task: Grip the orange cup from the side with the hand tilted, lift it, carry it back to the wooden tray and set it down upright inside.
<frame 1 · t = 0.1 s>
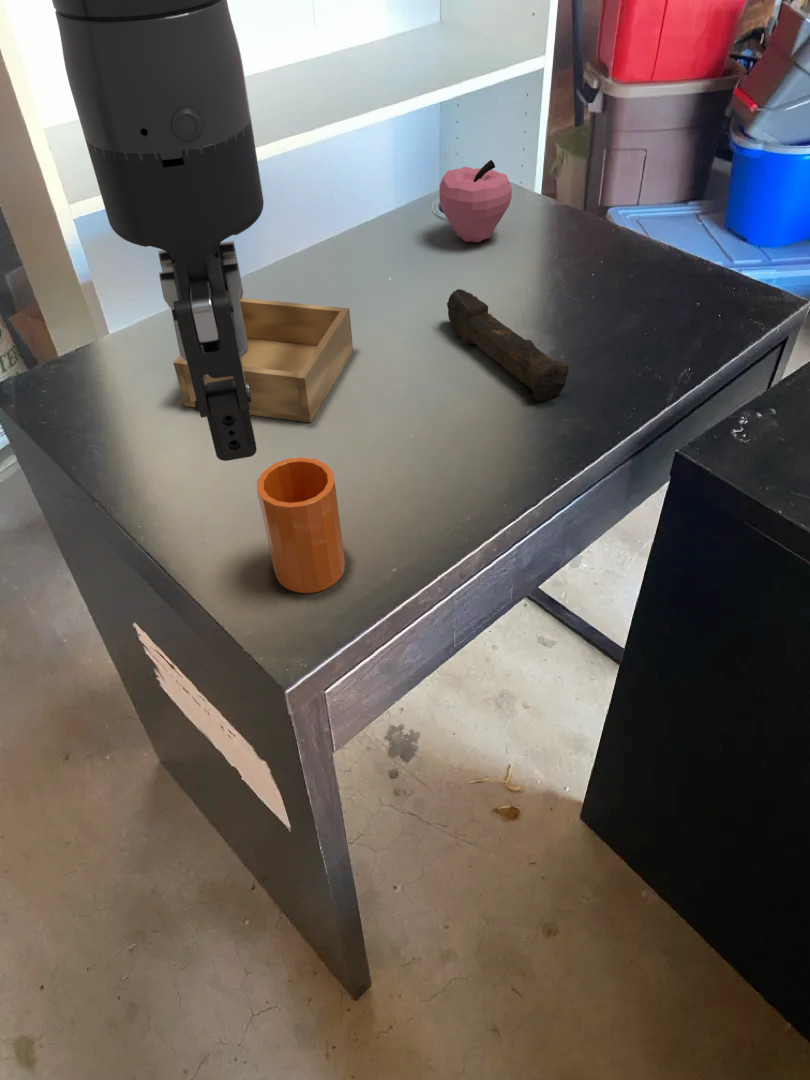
hand: (231, 412, 49), 19 cm above the table, tool pointing down, fingers open, 8 cm apart
wooden tray: (272, 377, 87), on the table
dark brown long bar: (493, 361, 88), on the table
orange cup: (310, 567, 66), on the table
apple: (474, 240, 109), on the table
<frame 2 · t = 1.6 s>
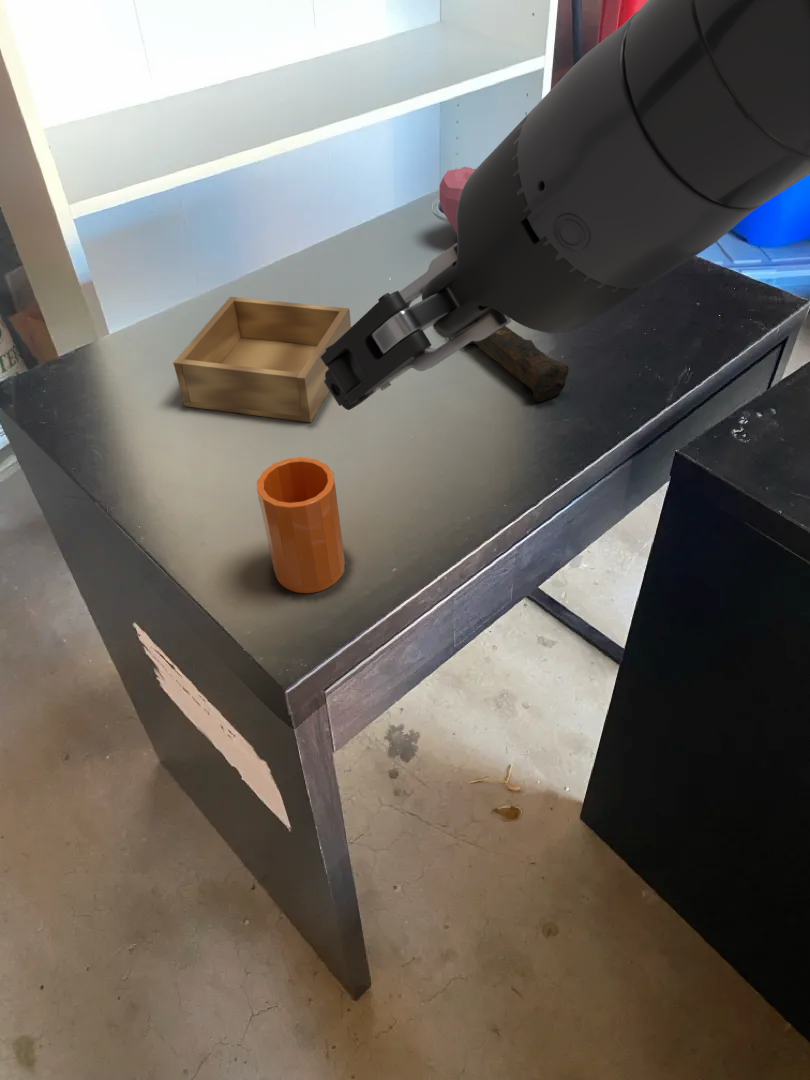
hand: (399, 356, 44), 24 cm above the table, tool tilted 45°, fingers open, 8 cm apart
nothing on the table moved.
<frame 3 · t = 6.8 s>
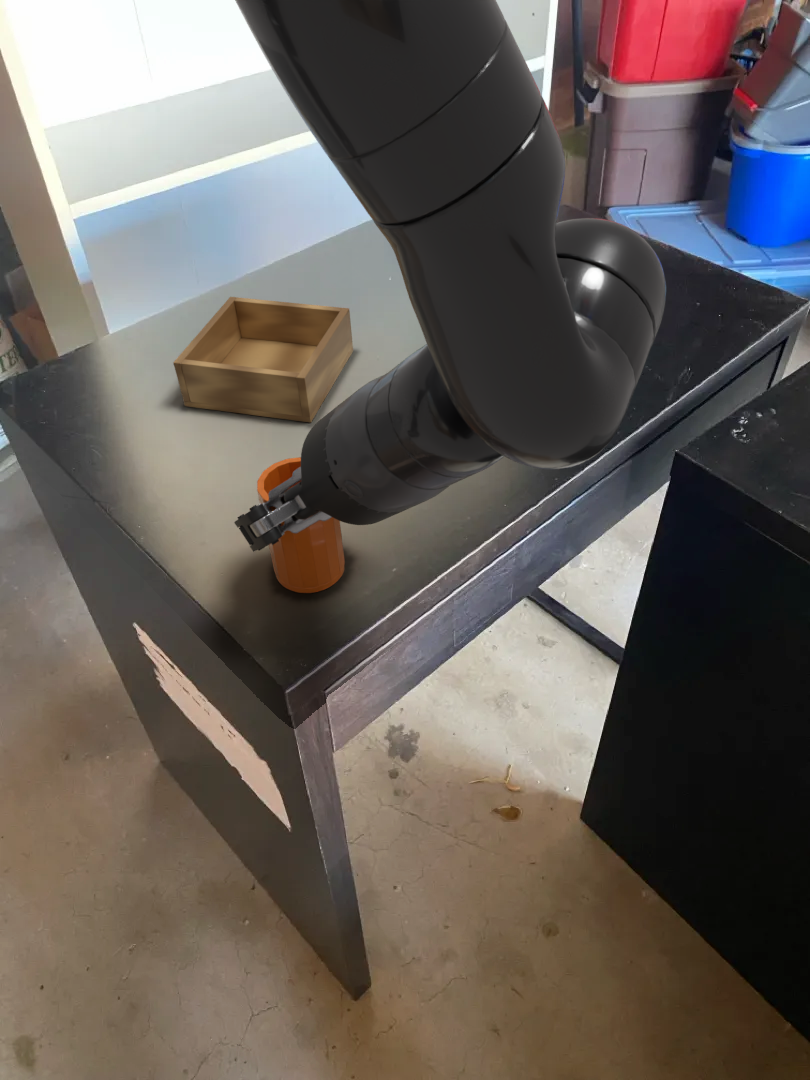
hand: (287, 509, 63), 5 cm above the table, tool tilted 45°, fingers closed on orange cup, 5 cm apart
orange cup: (310, 567, 66), on the table, touching gripper
everything else where it was.
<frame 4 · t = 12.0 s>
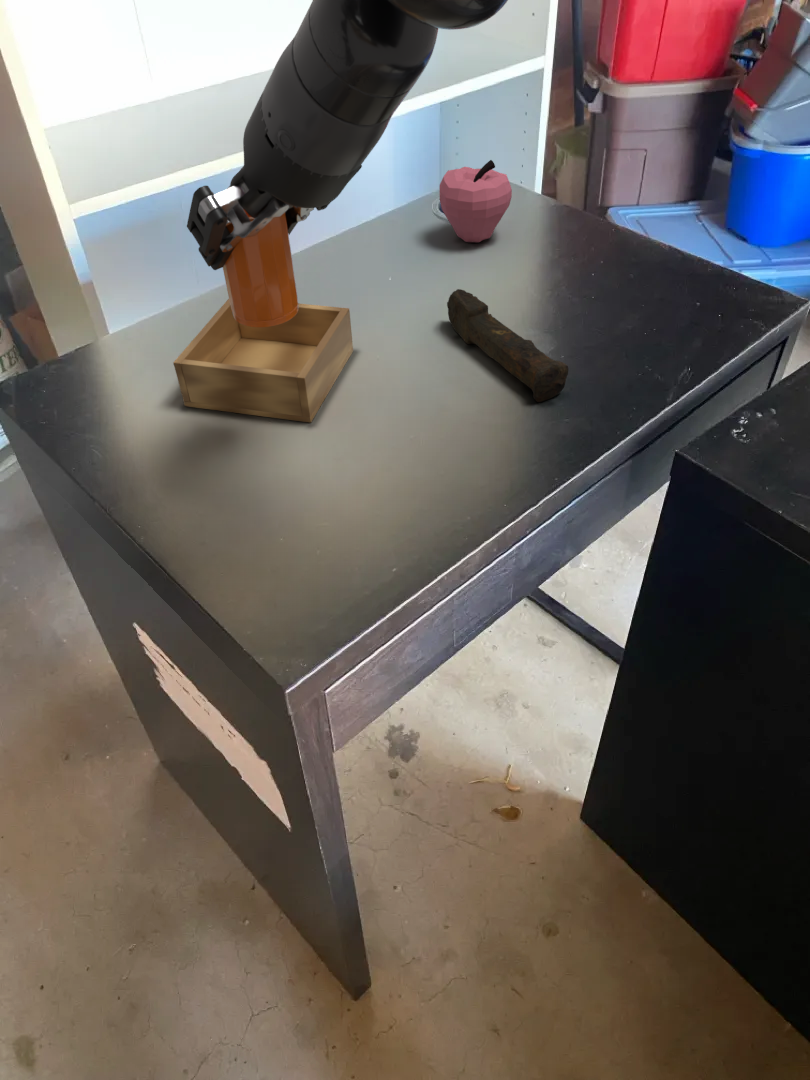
hand: (242, 245, 68), 18 cm above the table, tool tilted 45°, fingers closed on orange cup, 5 cm apart
orange cup: (265, 311, 70), point 13 cm above the table, touching gripper
everything else where it was.
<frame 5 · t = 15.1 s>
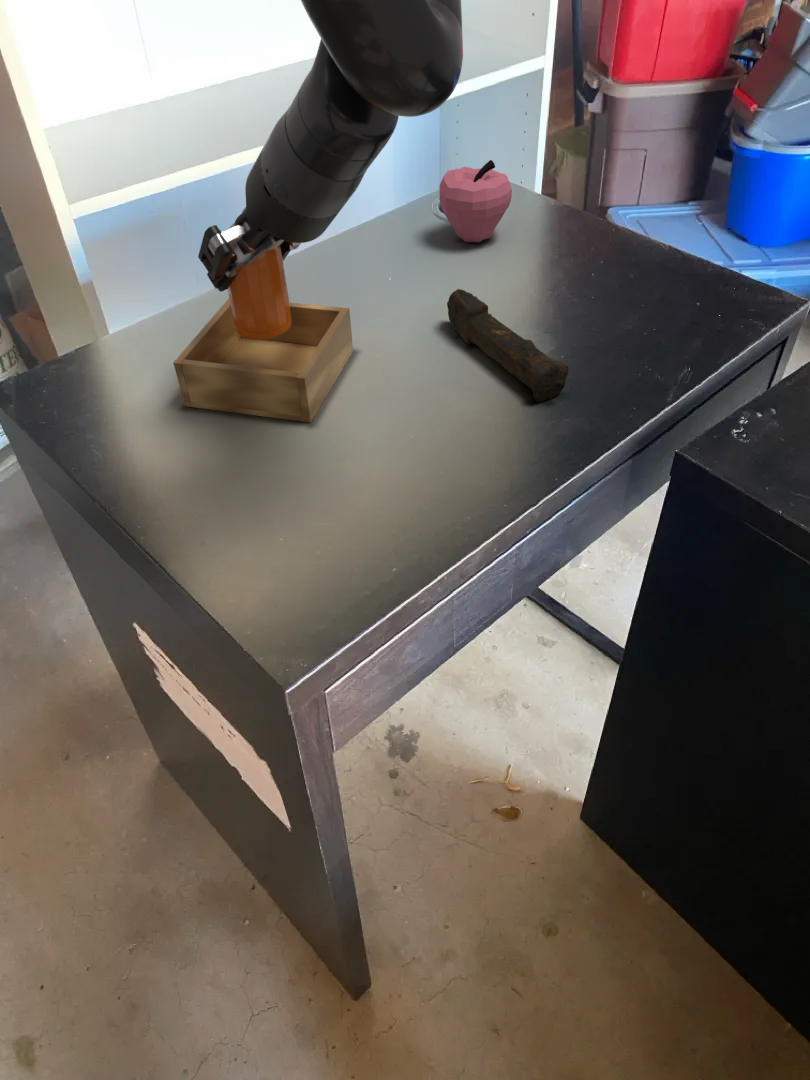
hand: (243, 270, 80), 11 cm above the table, tool tilted 45°, fingers closed on orange cup, 5 cm apart
orange cup: (264, 325, 82), point 6 cm above the table, touching gripper
everything else where it was.
when the fingers open (6 cm above the table, at t = 17.3 s): orange cup stays where it is, resting on wooden tray.
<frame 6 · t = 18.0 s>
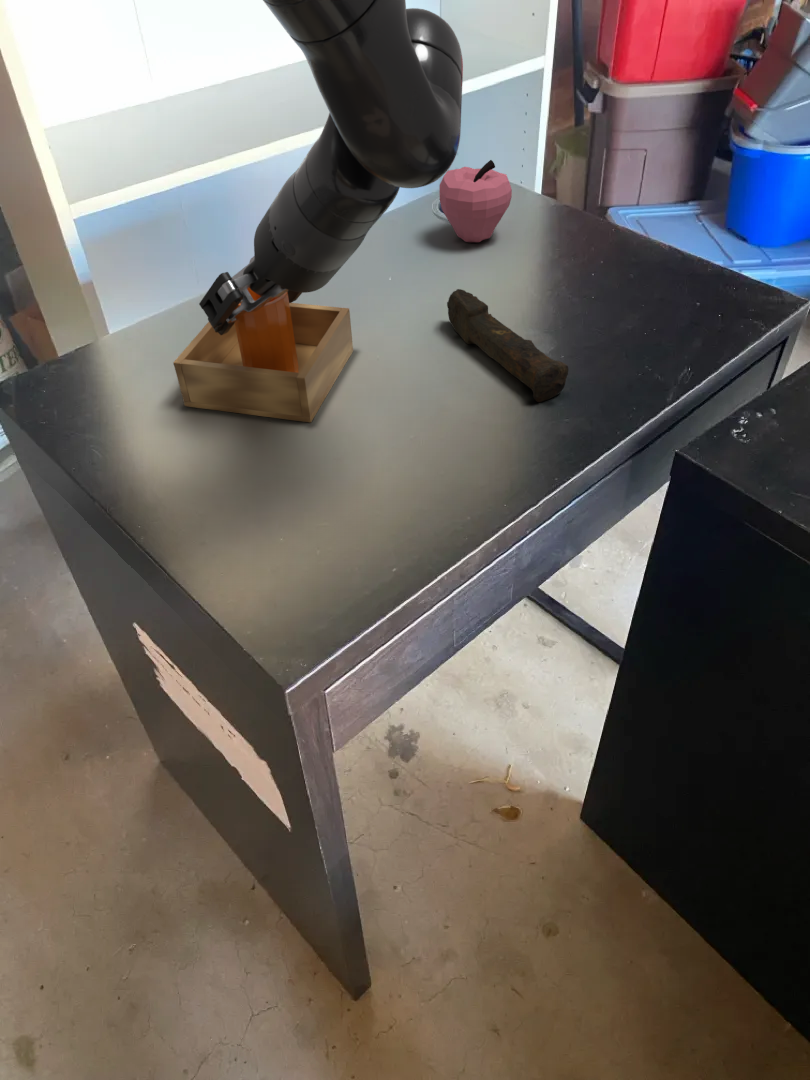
hand: (252, 309, 82), 7 cm above the table, tool tilted 45°, fingers open, 8 cm apart
orange cup: (272, 372, 86), point 1 cm above the table, touching wooden tray
everything else where it was.
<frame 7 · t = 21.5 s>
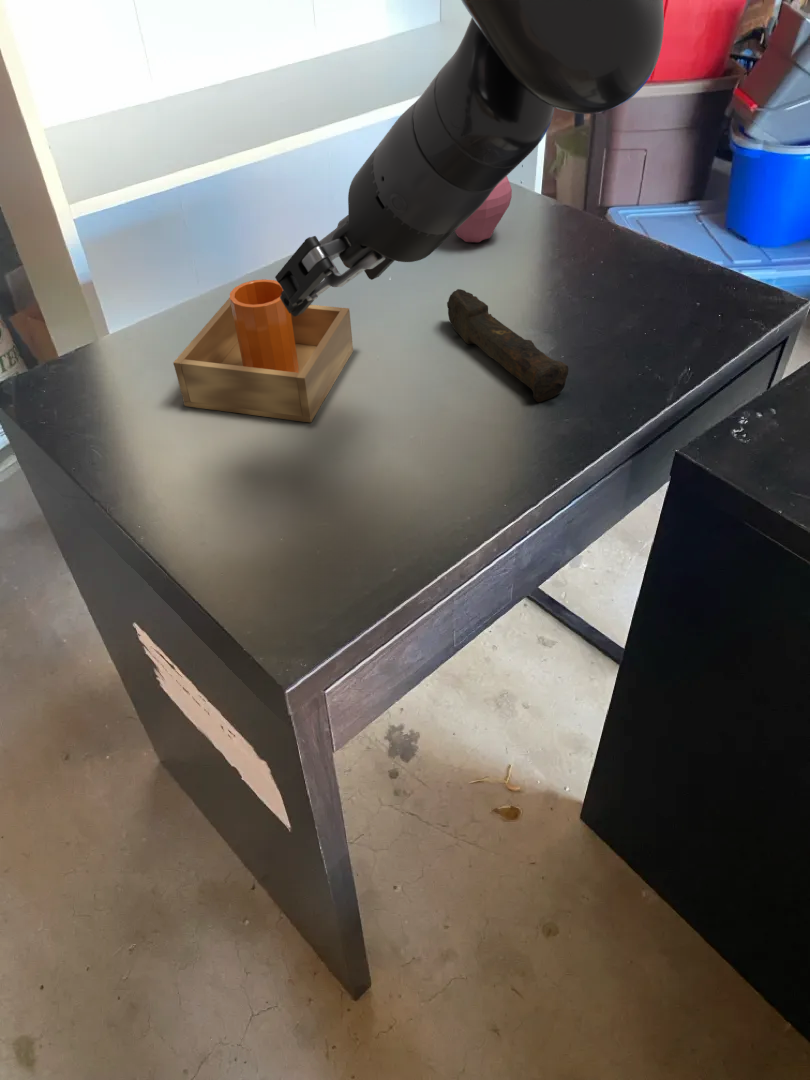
hand: (329, 286, 69), 15 cm above the table, tool tilted 45°, fingers open, 8 cm apart
nothing on the table moved.
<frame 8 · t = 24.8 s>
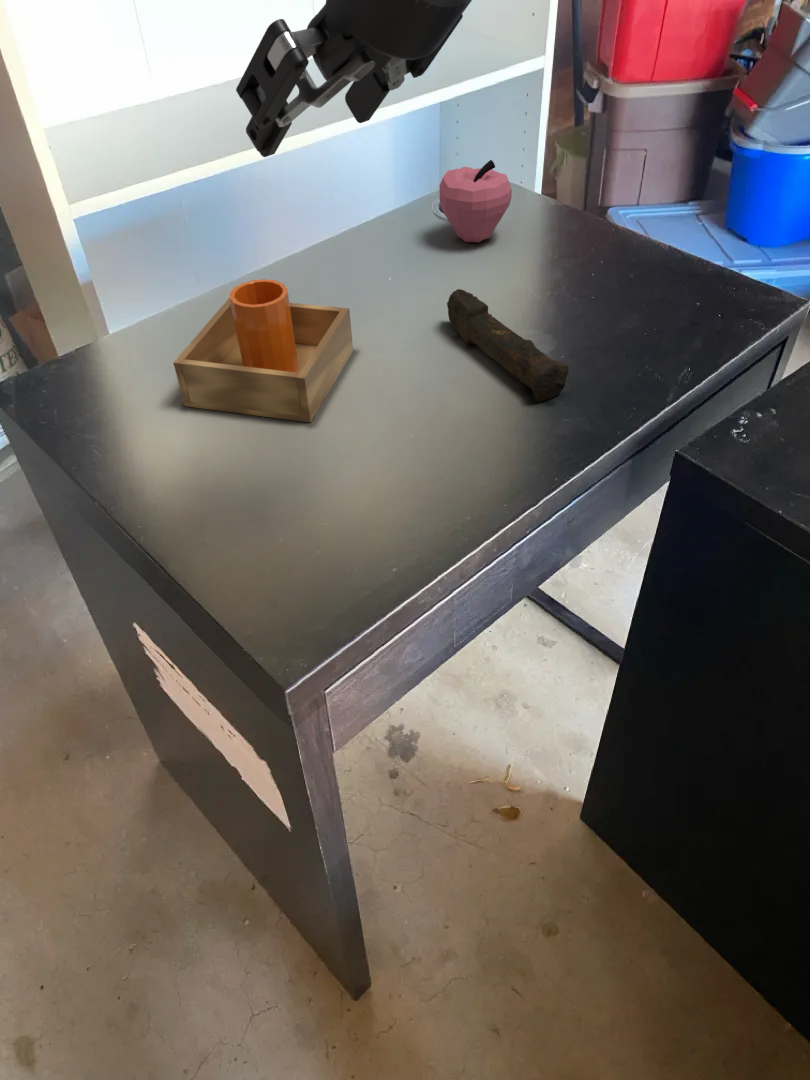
hand: (308, 126, 56), 29 cm above the table, tool tilted 45°, fingers open, 8 cm apart
nothing on the table moved.
at the end: orange cup inside the target area in the wooden tray (0.1 cm from its centre), point 0.6 cm above the wooden tray's base; orange cup tilted 0°; the gripper is holding nothing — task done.
